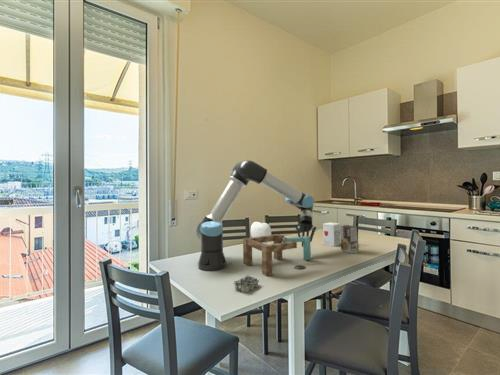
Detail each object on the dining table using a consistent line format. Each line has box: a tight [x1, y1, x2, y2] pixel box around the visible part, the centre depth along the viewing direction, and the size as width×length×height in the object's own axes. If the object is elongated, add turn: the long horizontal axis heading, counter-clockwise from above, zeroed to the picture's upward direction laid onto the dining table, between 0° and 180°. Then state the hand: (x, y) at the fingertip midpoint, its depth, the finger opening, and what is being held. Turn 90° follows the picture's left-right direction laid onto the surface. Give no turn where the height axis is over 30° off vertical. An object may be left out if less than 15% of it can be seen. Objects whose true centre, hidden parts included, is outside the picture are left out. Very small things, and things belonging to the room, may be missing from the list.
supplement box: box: [322, 222, 342, 247], centre depth 194 cm, size 9×9×15 cm
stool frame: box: [242, 233, 307, 277], centre depth 147 cm, size 25×25×14 cm
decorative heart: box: [250, 221, 272, 245], centre depth 191 cm, size 18×11×17 cm, turn 38°
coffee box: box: [340, 224, 359, 254], centre depth 174 cm, size 9×6×16 cm
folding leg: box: [282, 235, 312, 261], centre depth 156 cm, size 16×4×13 cm, turn 100°
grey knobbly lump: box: [233, 275, 260, 293], centre depth 118 cm, size 11×8×4 cm
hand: (304, 251), depth 160 cm, fingers closed
